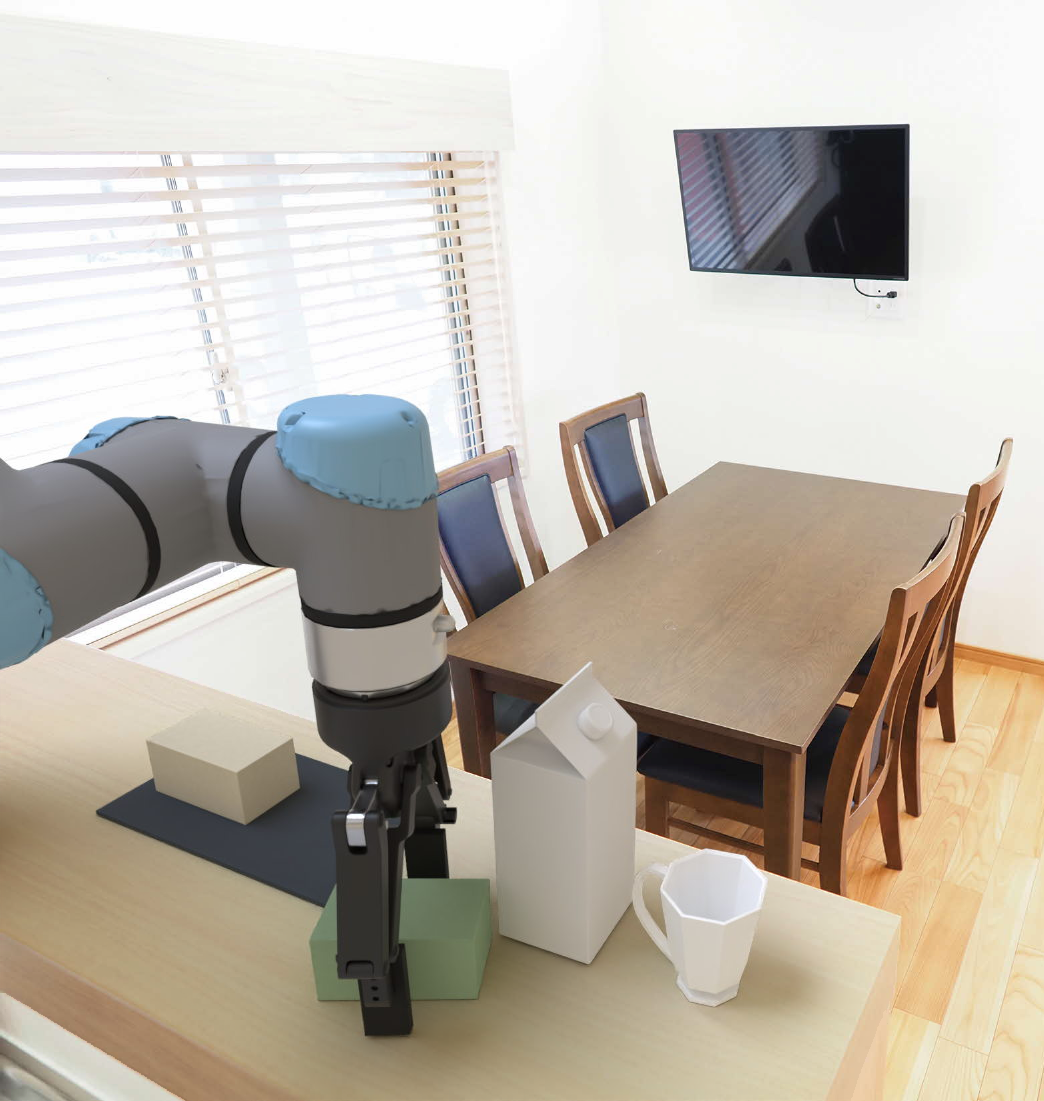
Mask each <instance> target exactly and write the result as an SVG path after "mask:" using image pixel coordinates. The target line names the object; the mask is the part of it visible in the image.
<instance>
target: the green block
mask: <svg viewBox="0 0 1044 1101" xmlns="http://www.w3.org/2000/svg"><path fill="white" fill-rule="evenodd" d="M492 913H493V912H492V898H491V880H490V878H450V879H407V878H402V893H401V910H400V927H399V943H405V949H406V959H407V968H408V978H409V987H410V997H411V1001H414V1000H417V1001H418V1000H477V999H479V998H478V997H479V994H480V990H481V986H482V981H483V979H484V978H483V977H484V973H485V968H486V964H487V961H488V956H489V952H490V949H491V944H492V940H493V936H494V935H493V934H494V933H493V914H492ZM308 943H309V949H310V956H311V963H312V970H313V977H314V984H315V991H316V998H317V1001H360V995H359V987H358V980H357V979H338V974H337V963H336V959H335V956H336V954H337V900H336V885H335V887H334V889H333V891H332V893H331V895H330V897H329V899H328V902H327V904H326V906H325V908H323V910H322V912H321V914H320V916H319V918H318V921H317V922H316V924H315V927H314V929H313V930H312V933H311V935H310V937H309V939H308Z"/></svg>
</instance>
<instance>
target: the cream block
mask: <svg viewBox="0 0 1044 1101" xmlns="http://www.w3.org/2000/svg"><path fill="white" fill-rule="evenodd" d="M145 744H146V748H147V752H148V758H149V763H150V767H151V772H152V778H154V782H155V787H156V791H158V792H161V793H163V794H166V795H169V796H171V797H174V798H176V799H179V800H182V801H184V802H187V803H189V804H192V805H195V806H197V807H200V808H202V809H205V810H208V811H210V812H213V813H215V814H218V815H221V816H223V817H226V818H228V819H231V820H234V821H236V822H239V823H241V824H244V825H247V824H248V823H250V822H251V821H252V820H254V819H255V818H257V817H258V816H260V815H261V814H263V813H264V812H266V811H267V810H269V809H270V808H271V807H273V806H274V805H276V804H277V803H279V802H280V801H282V800H283V799H285V798H286V797H288V796H289V795H290V794H292V793H293V792H295V791H296V790H298V789H299V788H300V785H299V778H298V771H297V763H296V756H295V753H296V749H295V743H294V737H292V736H289V735H286V734H283V733H280V732H278V731H274V730H271V729H268V728H265V727H261V726H259V725H257V724H253V723H250V722H247V721H244V720H242V719H238V718H235V717H233V716H230V715H226V714H223V713H221V712H219V711H218V712H217V711H215V710H211V709H208V708H205V707H204V708H203V709H200V710H198V711H197V712H195V713H193V714H191V715H190V716H187V717H185V718H184V719H182V720H179V721H178V722H176V723H174V724H172V725H170V726H169V727H166V728H165V729H163V730H161V731H159V732H157V733H155V734H153V735H151V736H150V737H148V738H146V739H145Z"/></svg>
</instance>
